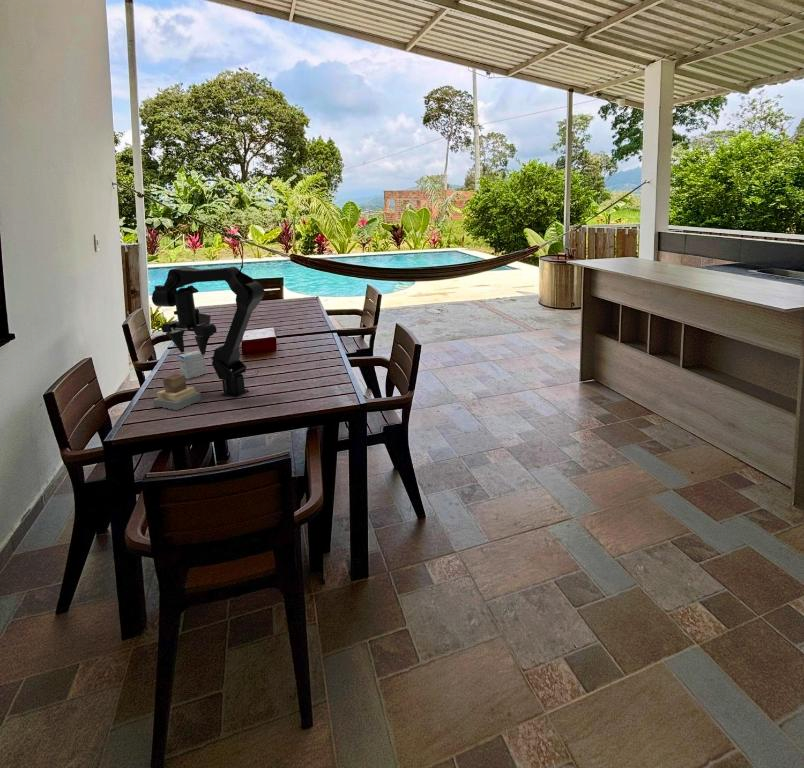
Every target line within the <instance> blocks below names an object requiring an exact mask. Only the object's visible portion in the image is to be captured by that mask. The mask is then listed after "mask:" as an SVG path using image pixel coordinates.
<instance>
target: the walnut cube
mask: <svg viewBox="0 0 804 768" xmlns="http://www.w3.org/2000/svg"><path fill="white" fill-rule="evenodd" d="M162 381H163V382H162V383H163V387H164V390H165V392H172V393H177V392H180V391H182V390H185V389H187V387H186V386H187V383H186V379H185V376H184V375H181V374H178V373H173V374H170V375H167V376H165V377H164V376H163V377H162Z"/></svg>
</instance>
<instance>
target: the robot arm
mask: <svg viewBox="0 0 804 768" xmlns="http://www.w3.org/2000/svg"><path fill="white" fill-rule="evenodd" d="M221 281H225V282H226V283H227V284H228V287H229V288H230V291H231V292H232V293H234V295H235V303H236V304H235V305H236V310H235V312H234V315H233V318H232V321H231V323H230V327H229V328H228V329H229V330H228V332H227V335H226V337H225V340H224V343H223V345H220V346H218V347H216V348H215V349H214V352H213V356H212V357H211V360H212V361H211V365H212V367H213V369H214V370H215V371H214V372H215V373H216V375H217V377H218V379H219V380H221V382H222V389H223V391H222V392H221V393H220V394H221V396H227V397H234V398H238V397H239V396H242V395H244V394H247V392H249V391H250V390H249V389H248V388H247V389H246V387H245V379H244V374H243V373H246V372H247V366H246V364H245V363H244V362H242V361H241V359H240V357H241V354H240V350H239V349H240V346H241V343H242V341H243V338H244V336H245V332H246V329H247V326H248V324H249V321H250V319H251V316H252V313H253V311H254V310H255V309H256V308H257V306H258V305H259V304H260V303H261V301H262V299H263V298H264V296H265V292H266V291H265V289H264V287H263V285H262V283H260V282H258V281H257V280H255V279H254V278H253V277H251V276H250V275H247V274H246V273H244V272H242V271H241V270H240V269H239V268H238V267H236V266H229V267H220V268H219V267H215V268H203V269H202V268H201V269H199V268H195V267H189V266H181V267H176V268H175V267H174V268H171V269H169V270H168V272H167V277H166V279H165V282H164V284H162V285H159V284H158V285H154V290H153V292H152V294H151V301H152V304H153V305H154V306H155V307H169V308H171V307H172V308H173V307H175V308H176V310H173V314H174V315H175V316H177V320H172V321H168V322H166V323H165V322H164V323H163V324H162V325H161V330H162V333H165V335H166V336H168V337H169V339H170V341H172V343H173V344H174V345H175V346H176V348H177V349H178V350H179V352H180V353H183V354H184V353H185V343H184V334H185V332H194V334H195V336H194V338H195V341H196V344H197V346H198V349H199V350H198V351H200V352H201V354H202V355H204V356H205V354H206V350H207V345H208V342H209V339H210V337H212V336H213V335H214V334H215V333H217V325H215V324H214V323H211V318H212V317H211V316H212V315H211V314H210V315H209V314H206V313H200V309H199V308H196V307H195V298H194V294H196V293H199V290H198V288H196V287H194V285H192V284H195V283H203V282H204V283H205V282H221ZM185 286H187V287H185Z"/></svg>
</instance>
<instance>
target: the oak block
mask: <svg viewBox="0 0 804 768" xmlns="http://www.w3.org/2000/svg"><path fill="white" fill-rule="evenodd" d="M186 387H187V389H185V390H182V391H180V392H177V393H172V392H165V389H163V390H159V391H157V392H156V395H157V397H158V399H163V400H170V401H176V402H177V401H179V400H182V399H184V398H186V397H189V396H191V395H193V394H196V392H197V391H196V387H193V386H187V385H186ZM157 397H156V398H157Z"/></svg>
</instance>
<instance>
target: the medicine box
mask: <svg viewBox="0 0 804 768" xmlns="http://www.w3.org/2000/svg"><path fill="white" fill-rule="evenodd" d="M177 357H178V363H179V369H180V370H179V371H180V375H184V376H185V378H186V379H185V380H187V379H188V380H191V379H190V378H192V379H194V378H193V377H195V378H198V377H201V376H200V375H202V376H204V375H203V374H205V375H207V368H206V360H205V355H202V354H201V352H200V350H194V351H190V352H186V353H185V352H184V353H183V354H178V355H177ZM197 376H198V377H197Z"/></svg>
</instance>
